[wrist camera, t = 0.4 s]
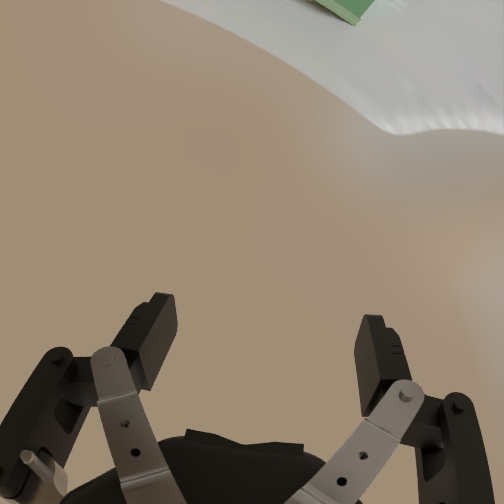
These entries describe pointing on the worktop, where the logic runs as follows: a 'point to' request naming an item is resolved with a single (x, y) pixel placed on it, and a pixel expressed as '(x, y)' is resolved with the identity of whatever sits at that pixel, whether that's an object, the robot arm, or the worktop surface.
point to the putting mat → (347, 8)
